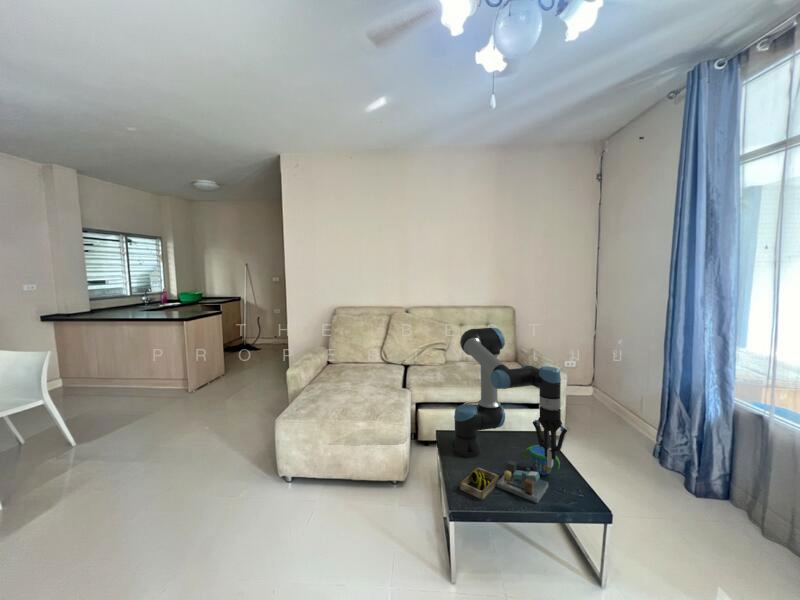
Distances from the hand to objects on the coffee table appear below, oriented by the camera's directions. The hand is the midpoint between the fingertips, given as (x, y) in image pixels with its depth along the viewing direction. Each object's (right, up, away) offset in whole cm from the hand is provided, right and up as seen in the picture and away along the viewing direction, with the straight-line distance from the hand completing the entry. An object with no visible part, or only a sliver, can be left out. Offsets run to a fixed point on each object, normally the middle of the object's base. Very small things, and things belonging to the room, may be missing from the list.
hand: (550, 465), depth 128 cm
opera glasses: (-24, -16, +14) cm, 32 cm away
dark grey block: (-8, -13, +20) cm, 25 cm away
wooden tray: (-24, -16, +14) cm, 32 cm away
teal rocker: (-5, -11, +13) cm, 17 cm away
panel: (-6, -16, +13) cm, 21 cm away
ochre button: (-12, -13, +15) cm, 23 cm away
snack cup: (+7, -15, +24) cm, 29 cm away
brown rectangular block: (-6, -13, +6) cm, 16 cm away
